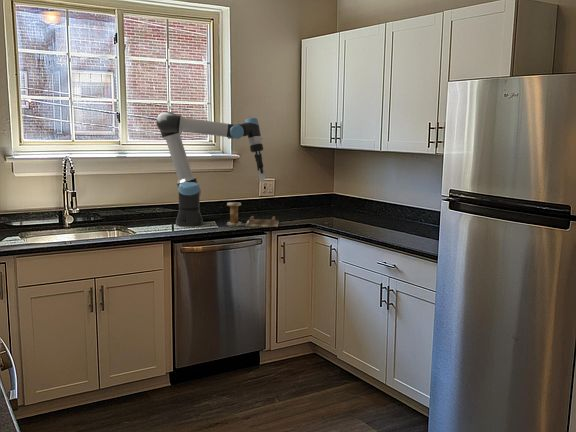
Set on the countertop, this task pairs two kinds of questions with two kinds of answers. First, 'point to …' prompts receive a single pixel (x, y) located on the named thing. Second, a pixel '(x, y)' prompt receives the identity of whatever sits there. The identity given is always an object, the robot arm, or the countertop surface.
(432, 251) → the countertop surface
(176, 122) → the robot arm
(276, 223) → the board
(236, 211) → the bobbin
